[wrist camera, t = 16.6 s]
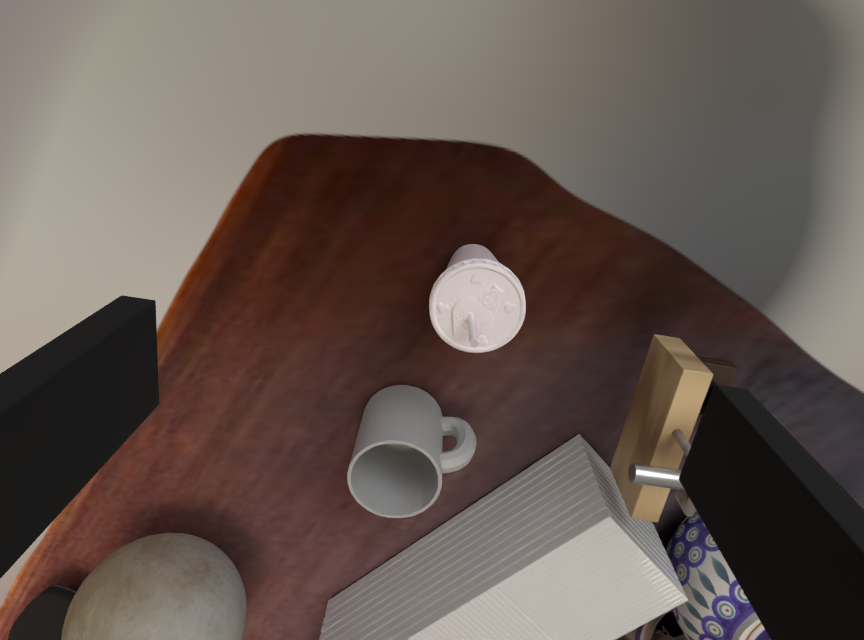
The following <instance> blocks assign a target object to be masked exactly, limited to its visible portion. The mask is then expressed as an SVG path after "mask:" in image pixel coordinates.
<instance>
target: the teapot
mask: <svg viewBox="0 0 864 640" xmlns="http://www.w3.org/2000/svg"><path fill="white" fill-rule="evenodd" d="M666 554H667V555H668V557H669V559H670V562H671V564H672V566H673V568H674V571H675V572H676V574H677V577H678V580H679V581H680V583H681V585H682V587H683V589H682V590H683V591H684V592H685V594H686V596H687V598H688V601H686V602H685V603H683V604H681V605H679V606H677V607H675V608H673V609H671V610H670V611H668V612H673V614H674V616H675V618H676V620H677V622H678V624H679V626H680V628H681V630H682V631H683V633H684V635H685V636H686V638H687V639H688V640H771V639H770V637H769V635H768V634H767V632H766V630H765V628H764V627H763V625H762V623H761V622H760V620H759V618H758V616H757V615H756V613H755V611H754V609H753V608H752V606H751V604H750V602H749V601H748V599H747V597H746V595H745V594H744V592H743V590H742V589H741V587H740V585H739V583H738V582H737V580H736V578H735V576H734V575H733V573H732V571H731V569H730V568H729V566H728V564H727V562H726V561H725V559H724V557H723V556H722V554H721V552H720V550H719V549H718V547H717V545H716V543H715V542H714V540H713V538H712V536H711V535H710V533H709V531H708V529H707V528H706V526H705V524H704V523H703V521H702V519H701V517H700V516H699V514H698V512H697V510H695V512H694V515H693V516H687V517H686V518H685V519H684V520H683V521H682V523H681V524H680V526H679V527H678V529H677V530H676V531H675V532H674V534H673V535H672V537H671V539H670V540H669V542H668V545H667V547H666ZM668 612H666V613H668ZM666 613H664V614H662V615H660V616H658V617H657V618H655V619H653V620H651V621H649V622H647V623H645V624H644V625H642V626H640V627H638V628H637V631H636V636H635V640H650V639H651V636H652V634H653V631H654V629H655V627H656V625H657V624H658V622H659V621H660V620H661V619H662V618H663V617H664V615H665V614H666Z"/></svg>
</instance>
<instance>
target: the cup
mask: <svg viewBox="0 0 864 640" xmlns="http://www.w3.org/2000/svg"><path fill="white" fill-rule="evenodd" d="M445 435H451V436H454V437H456V439H457V445H456V447H455V448H454V449H453V450H451V451H448V452H442V446H443V436H445ZM475 448H476V436H475V434H474V431H473V430H472V428H471V427H470V425H469V424H468V423H467V422H466V421H465V420H462V419H460V418H457V417H443V416H442V413H441V409H440V407H439V405H438V404H437V402H436V400H435V399H434V398H433V397H432V396H431V395H429V394H428V393H427V392H425V391H423V390H421V389H420V388H417V387H413V386H409V385H395V386H390V387H386V388H384V389H382V390H380V391H378V392H377V393H376V394H375V395H374V396H372V397H371V398H370V400H369V402H368V403H367V405H366V407H365V409H364V413H363V416H362V420H361V424H360V428H359V431H358V435H357V439H356V443H355V447H354V450H353V454H352V458H351V462H350V466H349V469H348V473H347V479H348V486H349V489H350V491H351V494H352V495H353V497H354V498H355V499H356V501H357V502H358V503H359V504H360V505H361V506H363V507H364V508H365V509H366V510H368V511H370V512H372V513H374V514H376V515H380V516H384V517H388V518H405V517H410V516H414V515H416V514H419V513H421V512H423V511H425V510H426V509H427V508H428V507H430V506H431V505H432V504H433V503H434V501H435V500H436V499H437V497H438V496H439V493H440V490H441V487H442V473H450V472H454V471H457V470H460V469H461V468H463V467H464V466H466V465H467V464H468V463H469V462H470V460H471V459H472V457H473V455H474V452H475Z"/></svg>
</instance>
